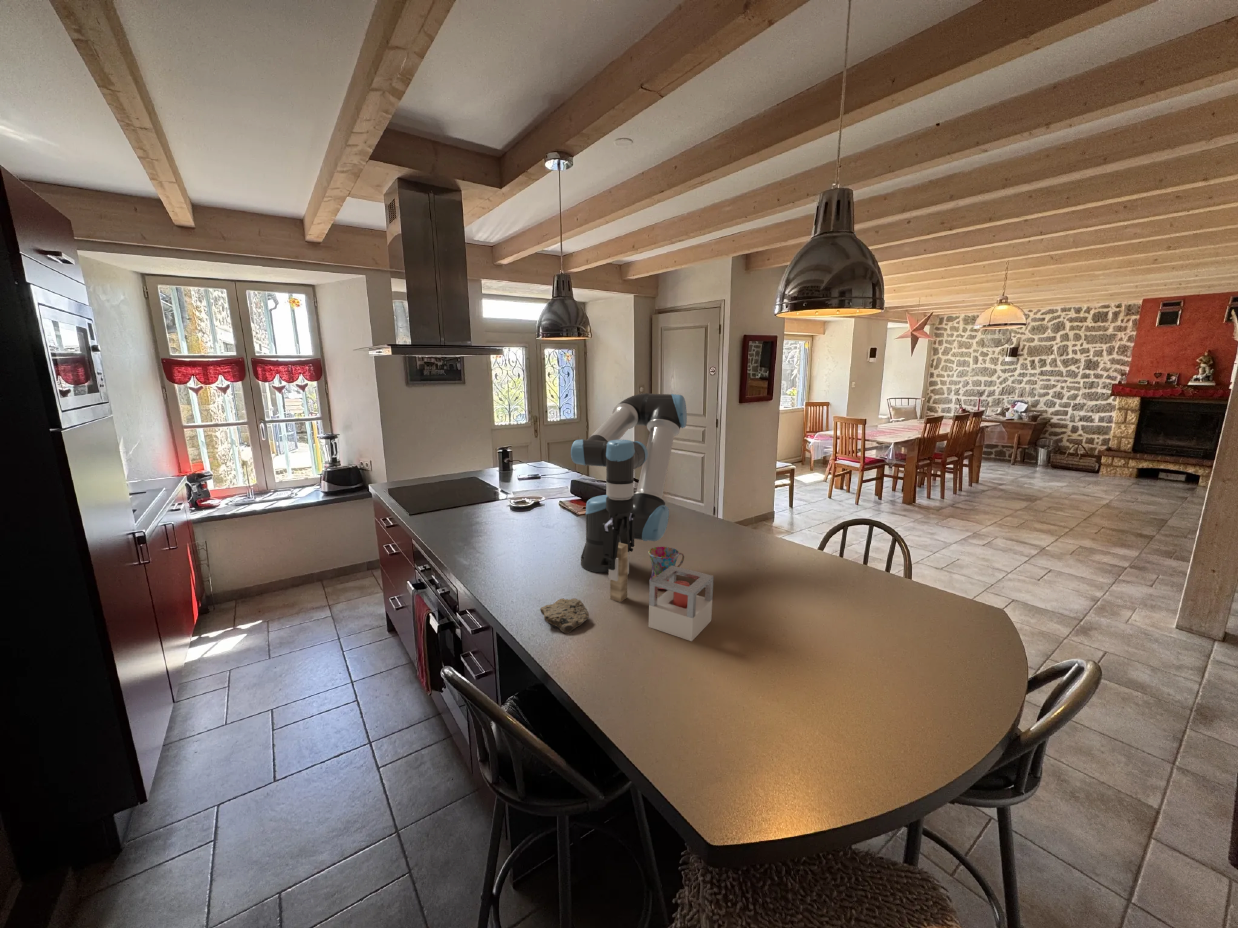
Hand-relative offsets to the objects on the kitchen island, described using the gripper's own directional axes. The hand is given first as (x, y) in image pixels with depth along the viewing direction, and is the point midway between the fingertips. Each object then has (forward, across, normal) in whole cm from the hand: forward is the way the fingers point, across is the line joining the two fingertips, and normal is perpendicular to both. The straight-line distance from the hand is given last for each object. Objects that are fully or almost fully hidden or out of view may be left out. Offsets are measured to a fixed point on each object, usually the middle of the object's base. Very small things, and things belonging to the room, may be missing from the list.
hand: (618, 575), depth 139 cm
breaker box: (+7, +3, +21) cm, 22 cm away
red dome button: (+3, +3, +21) cm, 21 cm away
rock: (+7, +19, -4) cm, 20 cm away
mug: (+7, -16, +7) cm, 19 cm away
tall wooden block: (+7, 0, 0) cm, 7 cm away
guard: (+1, +3, +21) cm, 21 cm away
